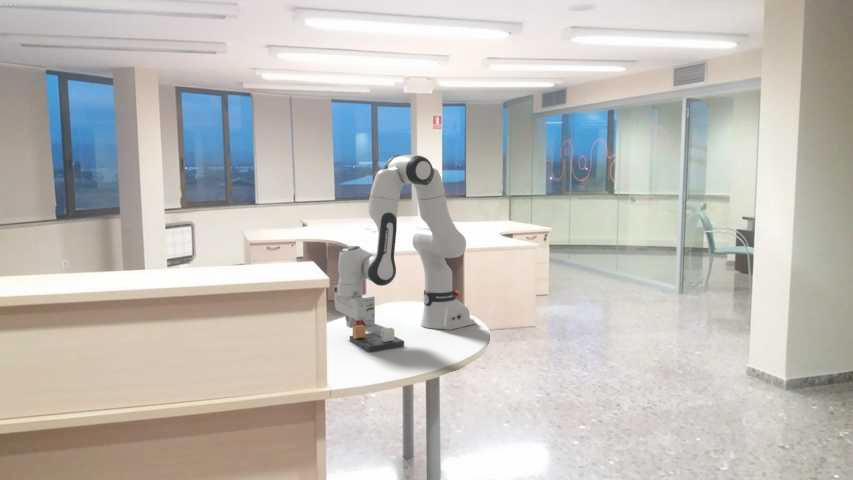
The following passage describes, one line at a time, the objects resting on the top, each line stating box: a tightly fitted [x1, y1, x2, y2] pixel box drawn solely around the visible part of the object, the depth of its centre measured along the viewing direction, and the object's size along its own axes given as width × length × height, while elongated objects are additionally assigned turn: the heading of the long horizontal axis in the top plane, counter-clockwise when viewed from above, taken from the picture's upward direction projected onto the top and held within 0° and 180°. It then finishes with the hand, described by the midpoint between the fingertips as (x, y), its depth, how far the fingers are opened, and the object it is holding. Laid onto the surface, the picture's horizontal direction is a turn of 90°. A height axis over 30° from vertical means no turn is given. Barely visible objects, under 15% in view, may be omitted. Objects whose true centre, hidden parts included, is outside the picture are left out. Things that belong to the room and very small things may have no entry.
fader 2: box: [380, 327, 395, 342], centre depth 231 cm, size 4×2×4 cm, turn 121°
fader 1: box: [352, 325, 367, 339], centre depth 235 cm, size 4×2×4 cm, turn 121°
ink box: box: [354, 293, 376, 327], centre depth 262 cm, size 8×5×12 cm, turn 123°
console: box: [349, 331, 405, 353], centre depth 235 cm, size 14×16×2 cm
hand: (350, 326), depth 241 cm, fingers closed
